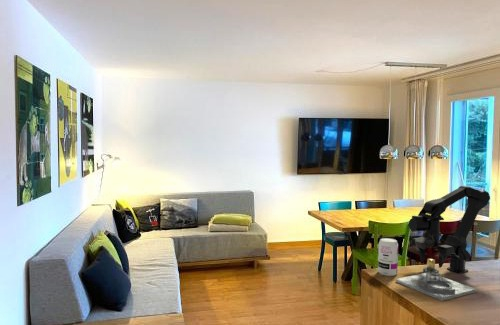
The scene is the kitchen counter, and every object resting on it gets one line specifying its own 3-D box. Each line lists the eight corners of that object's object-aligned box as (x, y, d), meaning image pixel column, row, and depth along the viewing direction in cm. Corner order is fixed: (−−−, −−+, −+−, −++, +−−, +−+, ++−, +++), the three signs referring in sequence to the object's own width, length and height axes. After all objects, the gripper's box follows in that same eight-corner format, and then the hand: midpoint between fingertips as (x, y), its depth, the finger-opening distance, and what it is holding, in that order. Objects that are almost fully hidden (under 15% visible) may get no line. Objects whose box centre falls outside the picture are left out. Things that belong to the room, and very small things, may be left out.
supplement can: (394, 270, 181) (395, 238, 180) (399, 276, 173) (400, 242, 172) (376, 269, 182) (377, 237, 181) (380, 276, 174) (381, 242, 173)
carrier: (428, 274, 175) (429, 266, 175) (476, 292, 156) (476, 282, 156) (395, 281, 167) (396, 272, 166) (441, 301, 147) (442, 290, 147)
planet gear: (429, 269, 182) (430, 256, 182) (441, 274, 177) (442, 260, 176) (419, 271, 180) (420, 258, 179) (431, 276, 174) (432, 262, 173)
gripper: (402, 227, 182) (401, 261, 183) (438, 236, 165) (436, 273, 166) (419, 225, 187) (418, 258, 188) (455, 233, 170) (454, 269, 171)
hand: (431, 264), depth 178 cm, fingers open, 9 cm apart
